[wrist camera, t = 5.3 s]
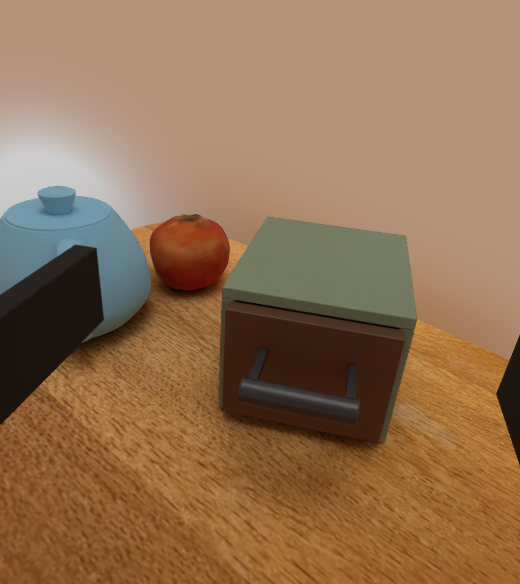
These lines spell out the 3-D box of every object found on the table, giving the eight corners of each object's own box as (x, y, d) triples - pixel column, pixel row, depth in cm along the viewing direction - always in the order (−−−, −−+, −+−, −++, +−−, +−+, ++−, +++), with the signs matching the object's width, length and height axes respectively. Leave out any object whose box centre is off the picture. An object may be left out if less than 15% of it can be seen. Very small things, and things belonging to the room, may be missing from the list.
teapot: (177, 352, 43) (174, 220, 37) (-87, 407, 35) (-146, 250, 29) (130, 262, 59) (123, 158, 53) (-61, 286, 51) (-95, 167, 45)
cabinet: (384, 443, 35) (417, 319, 30) (218, 408, 37) (222, 286, 32) (383, 335, 48) (406, 235, 43) (259, 314, 50) (267, 216, 45)
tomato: (179, 309, 50) (178, 238, 46) (135, 276, 56) (131, 210, 52) (247, 285, 55) (251, 220, 52) (201, 257, 61) (201, 197, 57)
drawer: (378, 503, 30) (410, 391, 25) (199, 462, 31) (200, 352, 27) (379, 339, 46) (398, 254, 41) (260, 319, 47) (267, 235, 43)
